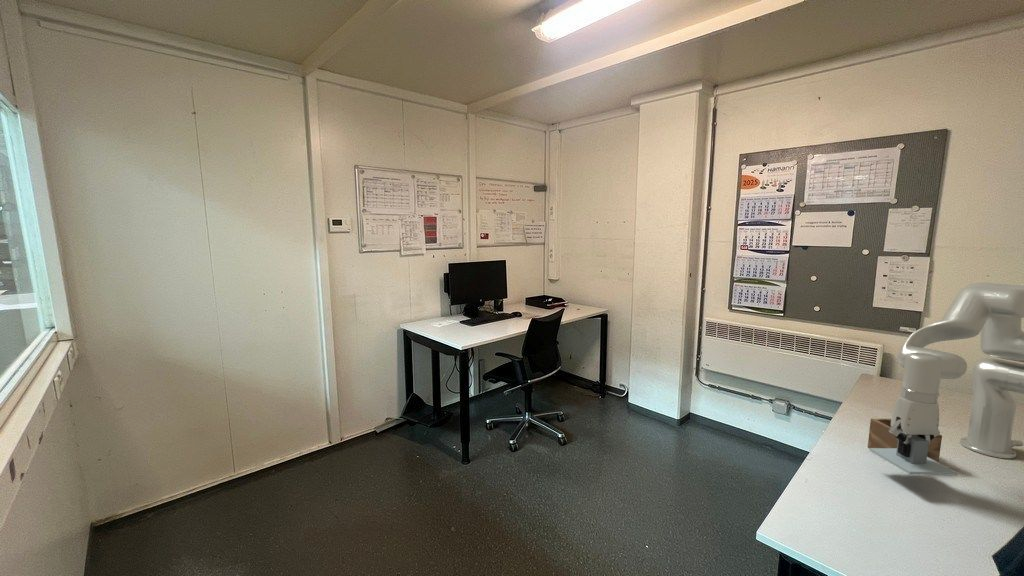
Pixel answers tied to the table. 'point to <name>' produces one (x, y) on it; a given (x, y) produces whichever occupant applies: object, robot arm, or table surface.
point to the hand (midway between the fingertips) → (911, 454)
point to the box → (885, 439)
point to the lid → (914, 458)
